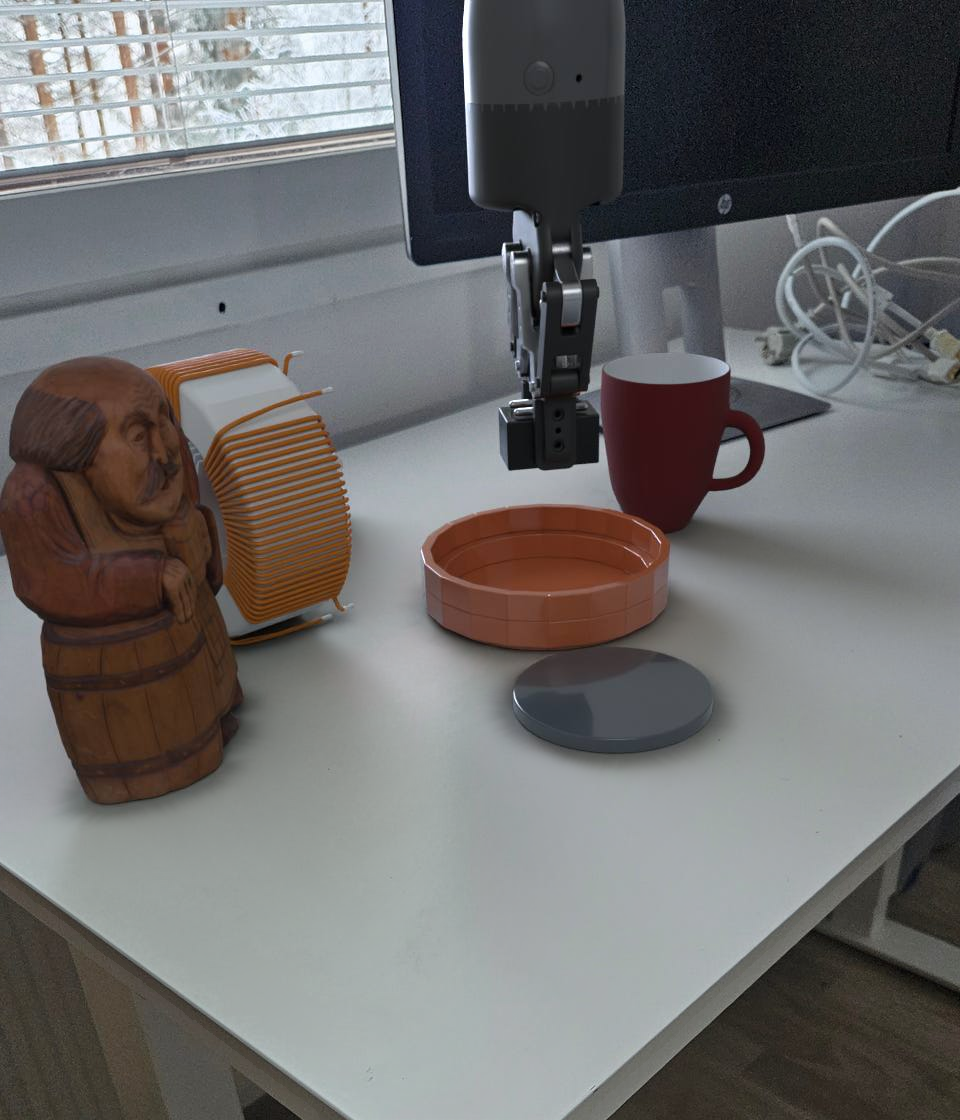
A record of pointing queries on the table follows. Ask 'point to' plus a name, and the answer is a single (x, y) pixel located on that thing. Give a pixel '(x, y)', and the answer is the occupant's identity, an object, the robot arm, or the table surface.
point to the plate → (613, 699)
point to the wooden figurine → (119, 579)
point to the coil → (263, 486)
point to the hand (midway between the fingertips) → (548, 456)
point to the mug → (670, 433)
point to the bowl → (545, 575)
